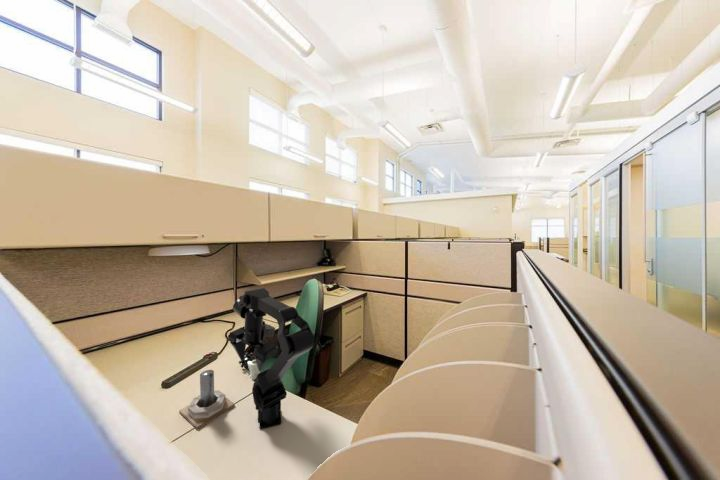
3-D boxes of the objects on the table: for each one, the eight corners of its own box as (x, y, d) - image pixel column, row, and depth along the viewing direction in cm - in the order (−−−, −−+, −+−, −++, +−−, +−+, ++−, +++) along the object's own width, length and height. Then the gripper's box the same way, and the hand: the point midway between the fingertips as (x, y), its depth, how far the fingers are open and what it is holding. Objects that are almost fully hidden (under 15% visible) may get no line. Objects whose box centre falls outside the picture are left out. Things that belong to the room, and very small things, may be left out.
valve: (265, 376, 105) (254, 363, 113) (265, 361, 104) (254, 349, 113) (248, 383, 100) (238, 369, 109) (248, 367, 100) (238, 354, 108)
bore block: (234, 405, 88) (234, 397, 88) (197, 429, 78) (197, 420, 78) (216, 392, 94) (215, 384, 94) (179, 412, 84) (179, 404, 84)
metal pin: (214, 401, 89) (213, 368, 88) (214, 408, 85) (213, 374, 84) (201, 405, 87) (200, 371, 86) (200, 413, 83) (199, 378, 82)
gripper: (290, 324, 90) (287, 363, 93) (254, 307, 98) (252, 344, 101) (265, 338, 80) (262, 381, 83) (227, 318, 89) (226, 358, 91)
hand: (251, 364), depth 90 cm, fingers open, 9 cm apart
